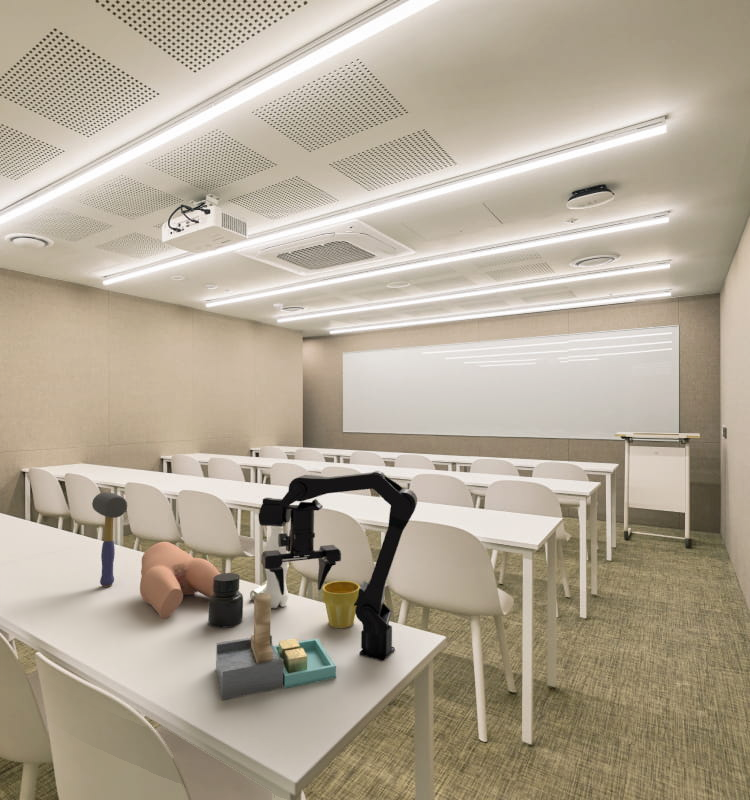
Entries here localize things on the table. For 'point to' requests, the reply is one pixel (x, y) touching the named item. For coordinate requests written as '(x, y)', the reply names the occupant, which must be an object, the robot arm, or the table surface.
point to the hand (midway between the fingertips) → (300, 591)
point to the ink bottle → (225, 601)
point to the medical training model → (173, 577)
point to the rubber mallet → (108, 530)
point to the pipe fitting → (258, 590)
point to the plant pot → (340, 602)
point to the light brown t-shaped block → (262, 628)
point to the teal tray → (310, 665)
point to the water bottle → (272, 582)
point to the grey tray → (245, 669)
